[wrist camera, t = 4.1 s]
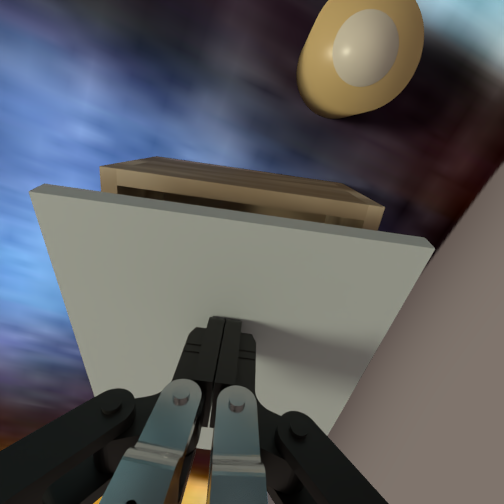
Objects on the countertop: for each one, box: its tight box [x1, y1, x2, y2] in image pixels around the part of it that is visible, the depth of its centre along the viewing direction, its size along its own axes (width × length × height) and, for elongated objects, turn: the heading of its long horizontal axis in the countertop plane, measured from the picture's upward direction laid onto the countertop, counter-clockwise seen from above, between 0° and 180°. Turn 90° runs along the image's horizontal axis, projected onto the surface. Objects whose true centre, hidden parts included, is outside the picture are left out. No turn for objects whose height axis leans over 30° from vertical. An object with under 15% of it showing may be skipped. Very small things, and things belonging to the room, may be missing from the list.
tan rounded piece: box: [297, 0, 424, 119], centre depth 16 cm, size 6×6×5 cm
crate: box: [100, 156, 385, 231], centre depth 21 cm, size 18×14×8 cm
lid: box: [29, 184, 435, 450], centre depth 15 cm, size 18×14×1 cm
